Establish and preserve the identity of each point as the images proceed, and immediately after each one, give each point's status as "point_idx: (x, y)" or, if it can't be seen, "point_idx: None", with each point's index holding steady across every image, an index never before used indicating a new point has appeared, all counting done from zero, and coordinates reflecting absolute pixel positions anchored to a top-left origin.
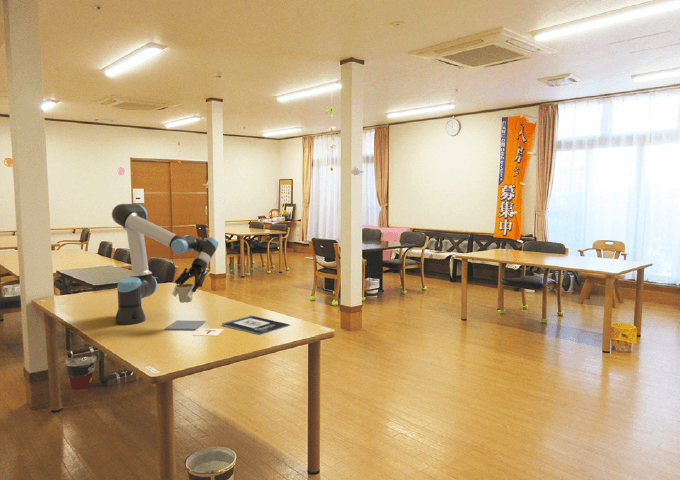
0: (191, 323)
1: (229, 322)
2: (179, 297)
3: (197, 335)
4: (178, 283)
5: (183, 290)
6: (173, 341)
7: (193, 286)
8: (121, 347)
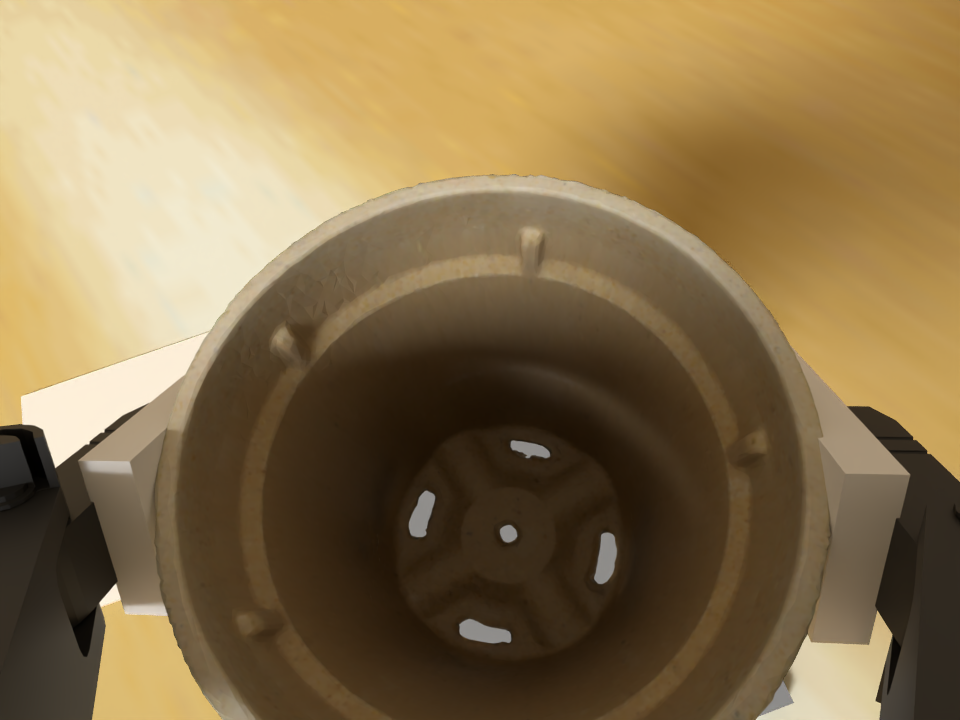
0: (496, 640)
1: None
2: (558, 383)
3: (200, 336)
4: (926, 520)
5: (390, 286)
6: (303, 152)
7: (117, 446)
8: None
